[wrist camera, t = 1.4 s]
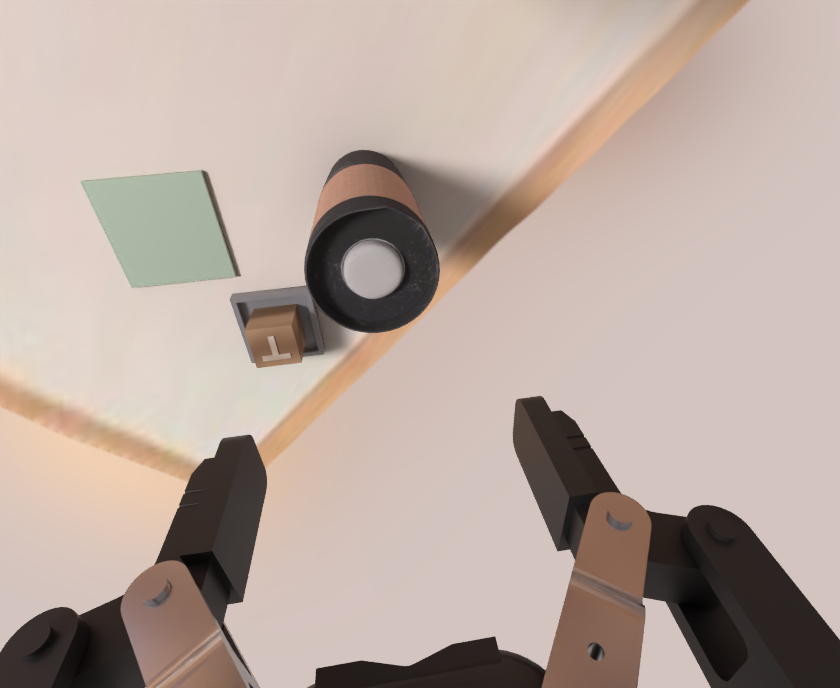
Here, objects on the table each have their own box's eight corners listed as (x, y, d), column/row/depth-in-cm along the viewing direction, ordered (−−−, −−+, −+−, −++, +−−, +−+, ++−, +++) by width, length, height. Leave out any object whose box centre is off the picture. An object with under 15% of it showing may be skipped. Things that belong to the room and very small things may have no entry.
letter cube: (253, 308, 44) (244, 331, 40) (296, 303, 44) (291, 325, 41) (265, 344, 47) (257, 369, 43) (305, 340, 47) (301, 363, 43)
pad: (82, 180, 36) (80, 181, 36) (202, 170, 37) (200, 171, 36) (133, 286, 42) (131, 287, 41) (236, 275, 42) (235, 276, 42)
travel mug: (341, 239, 42) (333, 350, 25) (311, 160, 38) (276, 231, 21) (414, 217, 41) (455, 314, 25) (392, 135, 37) (423, 185, 21)
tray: (232, 294, 43) (229, 299, 42) (310, 285, 44) (309, 290, 43) (254, 356, 48) (251, 363, 47) (324, 348, 48) (323, 354, 47)
